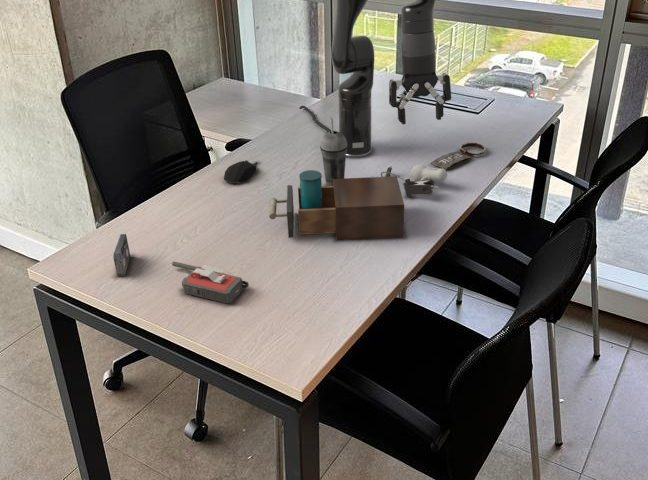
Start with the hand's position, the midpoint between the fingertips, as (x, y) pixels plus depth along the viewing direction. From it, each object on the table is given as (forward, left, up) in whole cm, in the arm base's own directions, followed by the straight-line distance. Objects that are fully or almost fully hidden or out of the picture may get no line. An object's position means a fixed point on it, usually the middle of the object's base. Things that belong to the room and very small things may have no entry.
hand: (420, 121), depth 172 cm
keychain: (-28, +16, -23) cm, 39 cm away
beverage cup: (-13, -20, -23) cm, 33 cm away
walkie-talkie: (+31, -50, -23) cm, 63 cm away
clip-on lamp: (-11, 0, -23) cm, 26 cm away
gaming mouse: (-23, -45, -23) cm, 56 cm away
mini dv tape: (+22, -69, -23) cm, 76 cm away
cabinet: (+7, -13, -23) cm, 27 cm away
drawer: (+7, -27, -22) cm, 36 cm away
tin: (+7, -27, -21) cm, 34 cm away
